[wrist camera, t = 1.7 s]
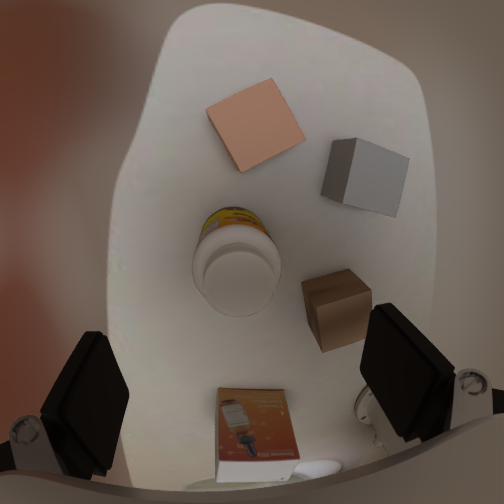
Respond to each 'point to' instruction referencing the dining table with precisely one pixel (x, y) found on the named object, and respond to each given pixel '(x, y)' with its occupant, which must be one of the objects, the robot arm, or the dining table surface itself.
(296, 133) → the terracotta block
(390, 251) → the dining table surface
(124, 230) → the dining table surface
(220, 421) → the small box
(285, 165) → the dining table surface
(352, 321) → the walnut block
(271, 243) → the supplement bottle
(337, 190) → the slate block
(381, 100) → the dining table surface
